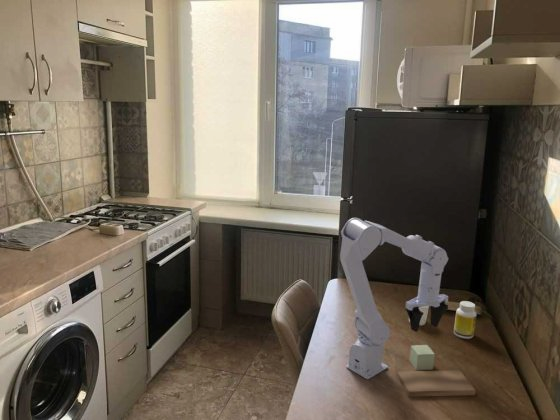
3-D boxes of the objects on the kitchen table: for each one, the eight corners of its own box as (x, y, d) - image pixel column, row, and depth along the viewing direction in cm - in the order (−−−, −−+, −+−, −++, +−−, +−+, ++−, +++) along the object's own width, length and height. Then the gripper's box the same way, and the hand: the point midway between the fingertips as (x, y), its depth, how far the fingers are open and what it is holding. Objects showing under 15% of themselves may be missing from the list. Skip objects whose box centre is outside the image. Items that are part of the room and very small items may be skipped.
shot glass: (419, 315, 167) (421, 297, 165) (431, 324, 160) (433, 306, 159) (403, 318, 165) (404, 299, 163) (414, 327, 158) (416, 308, 157)
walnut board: (474, 395, 123) (475, 390, 122) (408, 396, 121) (408, 391, 121) (459, 375, 131) (459, 370, 131) (397, 376, 130) (397, 371, 130)
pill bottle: (475, 340, 151) (479, 309, 148) (455, 338, 152) (459, 306, 149) (471, 331, 157) (475, 301, 154) (452, 329, 158) (456, 299, 155)
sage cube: (416, 370, 133) (417, 354, 132) (409, 360, 138) (411, 345, 137) (432, 369, 134) (434, 354, 133) (425, 360, 139) (427, 344, 138)
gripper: (419, 294, 128) (414, 338, 131) (458, 286, 135) (452, 329, 138) (402, 284, 134) (398, 327, 138) (440, 277, 141) (435, 319, 144)
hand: (424, 327), depth 138 cm, fingers open, 7 cm apart
